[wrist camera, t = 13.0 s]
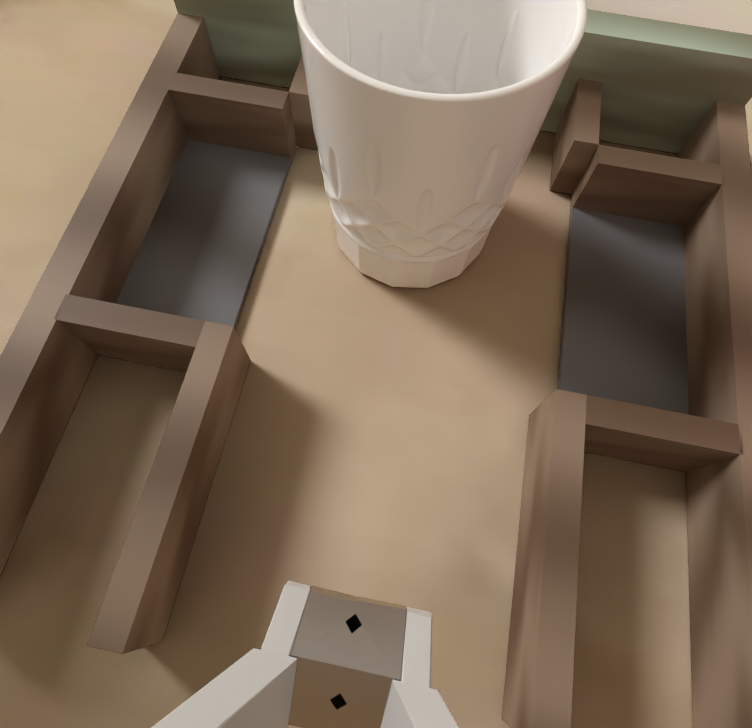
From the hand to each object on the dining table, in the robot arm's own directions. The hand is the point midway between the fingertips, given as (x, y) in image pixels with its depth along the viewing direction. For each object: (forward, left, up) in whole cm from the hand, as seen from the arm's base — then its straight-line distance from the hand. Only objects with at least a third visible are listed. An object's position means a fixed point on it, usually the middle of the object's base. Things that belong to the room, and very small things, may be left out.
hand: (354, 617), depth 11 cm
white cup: (+13, +8, -8) cm, 17 cm away
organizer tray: (+9, +6, -7) cm, 13 cm away
